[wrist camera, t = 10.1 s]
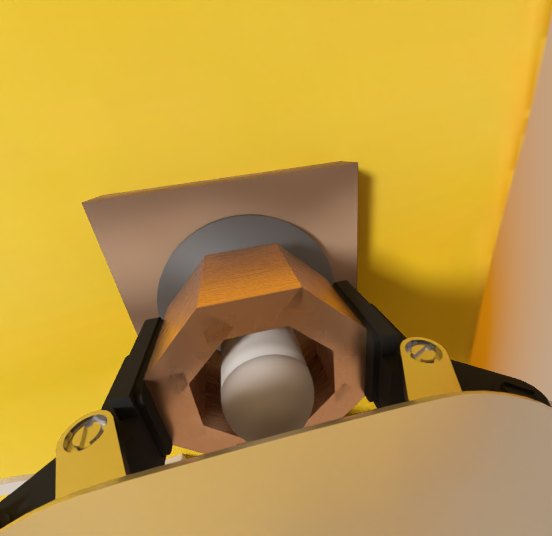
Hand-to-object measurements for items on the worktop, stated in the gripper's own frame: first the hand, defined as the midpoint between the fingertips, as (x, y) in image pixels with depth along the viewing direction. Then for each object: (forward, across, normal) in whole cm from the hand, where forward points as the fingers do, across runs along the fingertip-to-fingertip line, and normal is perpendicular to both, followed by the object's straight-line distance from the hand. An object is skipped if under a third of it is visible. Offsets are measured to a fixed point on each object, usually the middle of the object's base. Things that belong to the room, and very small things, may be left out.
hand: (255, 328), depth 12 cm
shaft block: (+5, 0, 0) cm, 5 cm away
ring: (+1, 0, 0) cm, 1 cm away
